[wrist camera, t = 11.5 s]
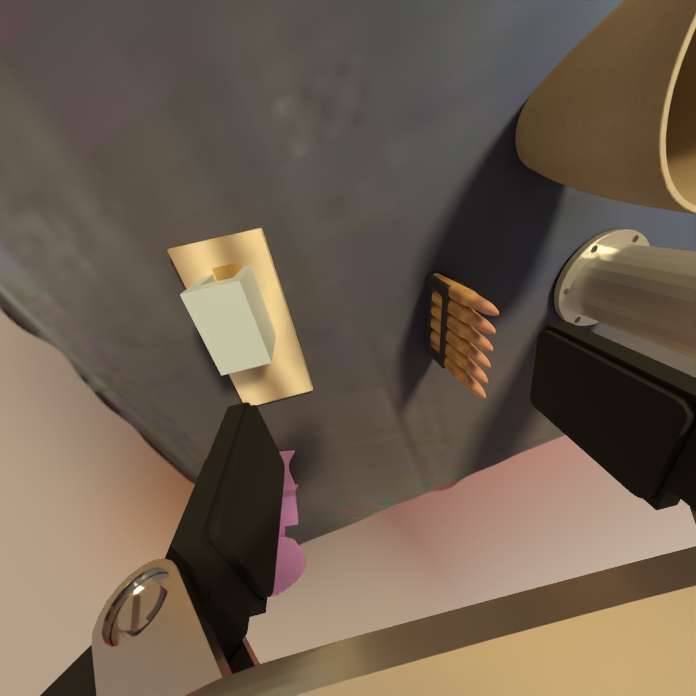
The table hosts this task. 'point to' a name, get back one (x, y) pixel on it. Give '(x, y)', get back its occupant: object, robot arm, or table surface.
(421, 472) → the table surface
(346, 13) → the table surface
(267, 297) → the board
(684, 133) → the plant pot
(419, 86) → the table surface
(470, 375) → the ammunition clip
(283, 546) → the toy chair
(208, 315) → the pale green notched block
